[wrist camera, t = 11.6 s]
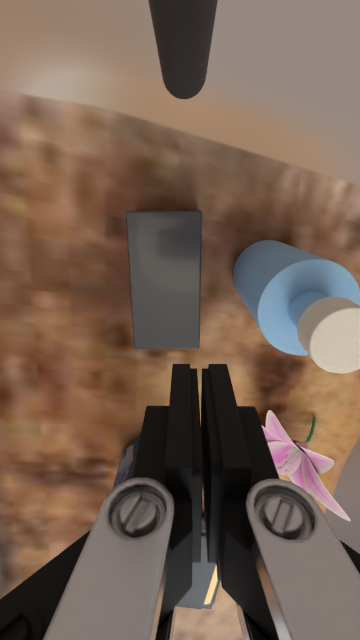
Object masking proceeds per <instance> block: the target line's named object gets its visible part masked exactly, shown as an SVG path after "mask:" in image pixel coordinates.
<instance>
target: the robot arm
mask: <svg viewBox="0 0 360 640" xmlns="http://www.w3.org/2000/svg"><path fill="white" fill-rule="evenodd" d="M202 493H204V510H205V527H206V543H207V559H208V563H216V567H217V579H218V580H221V583H222V588H223V589H224V590H225V591H226V592H227V593H228V594H229V595H230V596H231V597H232V598H233V600H234V601H235V602H236V604H237V613H238V617H239V621H240V626H241V630H242V634H243V638H244V640H360V554H359V553H357V552H356V551H354V550H353V549H352V548H350V547H349V546H347V545H346V544H345V543H343V542H342V541H340V540H339V539H338V537H337V535H336V534H335V532H334V530H333V529H332V527H331V525H330V524H329V522H328V520H327V519H326V517H325V515H324V514H323V512H322V510H321V509H320V507H319V505H318V504H317V503H316V501H315V500H314V499H313V498H312V496H311V495H310V494H309V493H307V492H306V491H305V490H304V489H302V488H301V487H299V486H297V485H295V484H294V483H292V482H289V481H285V480H281V479H279V476H278V473H277V470H276V467H275V464H274V461H273V458H272V455H271V452H270V449H269V446H268V443H267V440H266V437H265V434H264V431H263V428H262V425H261V422H260V419H259V416H258V413H257V411H256V408H255V407H251V406H237V404H236V400H235V396H234V392H233V388H232V384H231V380H230V375H229V371H228V367H227V364H209V368H208V369H202V396H201V425H200V410H199V394H198V378H197V369H190V364H173V368H172V380H171V392H170V404H169V406H147V407H146V411H145V416H144V421H143V426H142V431H141V436H140V441H139V447H138V452H137V457H136V462H135V467H134V472H133V477H132V479H130V480H126V481H125V482H123V483H121V484H119V485H117V486H116V487H115V488H114V489H113V490H112V491H111V492H110V493H109V494H108V496H107V497H106V499H105V500H104V502H103V504H102V506H101V508H100V511H99V513H98V515H97V518H96V520H95V522H94V524H93V527H92V529H91V530H90V531H89V532H87V533H86V534H85V535H83V536H82V537H81V538H80V539H78V540H77V541H76V542H74V543H73V544H72V545H70V546H69V547H68V548H67V549H65V550H64V551H63V552H61V553H60V554H59V555H58V556H56V557H55V558H54V559H52V560H51V561H50V562H48V563H47V564H46V565H45V566H43V567H42V568H41V569H39V570H38V571H37V572H35V573H34V574H33V575H32V576H30V577H29V578H28V579H26V580H25V581H24V582H22V583H21V584H20V585H19V586H17V587H16V588H15V589H13V590H12V591H11V592H9V593H8V594H7V595H6V596H4V597H3V598H2V599H0V640H172V637H173V630H174V623H175V616H176V605H177V604H178V603H179V601H180V600H181V599H182V598H183V597H184V596H185V594H186V593H187V592H188V591H189V590H190V588H191V587H192V563H201V532H202Z"/></svg>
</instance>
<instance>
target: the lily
mask: <svg viewBox="0 0 360 640" xmlns="http://www.w3.org/2000/svg"><path fill="white" fill-rule="evenodd" d="M315 421H316V418H313V422H312V427H311V431H310V434H309V436H308V438H307V440H306V441H305V443H302V442H299V441H295V440H292V439H290V438H289V436H288V435H287V433H286V432H285V430H284V429H283V427H282V425H281V424H280V422H279V421H278V419H277V417H276V416H275V414H274V413H273V412H272V411H271V410H269V411H268V413H267V416H266V428H265V427H264V426H262V428H263V431H264V434H265V437H266V440H267V443H268V446H269V449H270V452H271V455H272V458H273V461H274V464H275V467H276V470H277V473H278V474H281V475H289V477H290V479H291V481H292V482H293V483H294V484H295V485H297V486H299V487H301V488H302V489H304V490H305V491H306V492H307V493H309V494H310V492H311V493H312V495H313V496H314V497H315V498H316V499H317V500H318V501H319V502H320V503H322V504H323V505H324V506H326V507H327V508H328V509H330V510H331V511H332V512H334V513H335V514H337V515H339V516H340V517H342V518H344V519H346V520H347V521H350V519H349V517H348V516H347V514H346V513H345V512H344V511H343V510H342V508H341V507H340V506H339V505H338V504H337V502H336V501H335V500H334V498H333V497H332V496H331V495H330V493H329V492H328V490H327V489H326V488H325V486H324V485H323V483H322V481H321V480H320V478H319V476H318V475H317V473H318V474H323V473H325V472H326V471H328V470H329V469H330V468H331V467H332V466H333V465H334V461H333V460H332V459H330V458H328V457H325V456H323V455H320V454H318V453H315V452H313V451H310V450H308V448H307V446H308V443H309V441H310V439H311V437H312V434H313V431H314V426H315ZM309 458H310V459H311V462H312V463H311V462H310V460H309ZM312 464H313V465H312ZM316 472H317V473H316Z"/></svg>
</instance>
